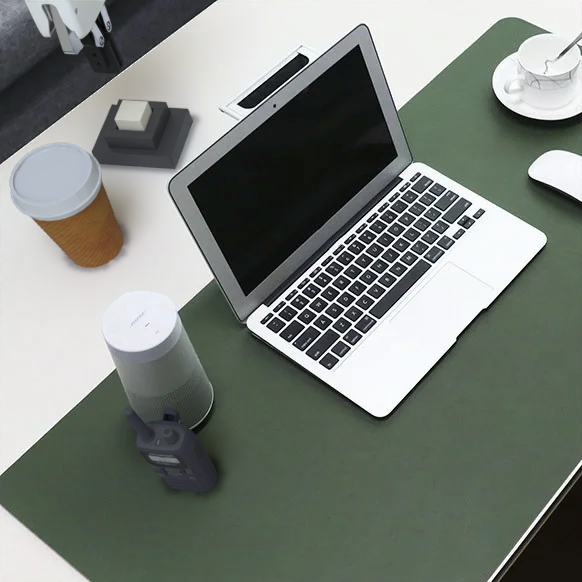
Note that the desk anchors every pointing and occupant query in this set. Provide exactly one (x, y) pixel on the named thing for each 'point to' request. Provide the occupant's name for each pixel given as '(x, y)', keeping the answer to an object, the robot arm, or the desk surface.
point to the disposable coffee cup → (68, 202)
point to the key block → (144, 138)
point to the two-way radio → (174, 451)
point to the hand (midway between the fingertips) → (109, 67)
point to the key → (133, 115)
